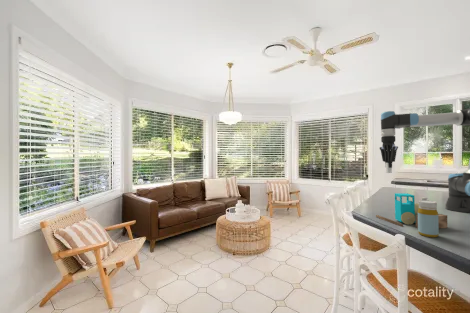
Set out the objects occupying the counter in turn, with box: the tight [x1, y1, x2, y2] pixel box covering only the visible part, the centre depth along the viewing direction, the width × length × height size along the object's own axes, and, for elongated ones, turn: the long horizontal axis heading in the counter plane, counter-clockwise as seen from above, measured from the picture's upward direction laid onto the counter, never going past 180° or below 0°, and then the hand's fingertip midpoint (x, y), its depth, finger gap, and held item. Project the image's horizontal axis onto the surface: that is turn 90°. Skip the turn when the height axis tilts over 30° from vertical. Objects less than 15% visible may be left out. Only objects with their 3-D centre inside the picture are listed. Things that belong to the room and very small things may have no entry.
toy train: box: [394, 192, 428, 225], centre depth 121 cm, size 8×17×15 cm, turn 78°
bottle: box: [417, 199, 440, 238], centre depth 103 cm, size 7×7×15 cm
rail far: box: [375, 214, 404, 227], centre depth 125 cm, size 1×18×1 cm, turn 5°
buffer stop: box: [415, 213, 448, 229], centre depth 114 cm, size 14×5×6 cm, turn 96°
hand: (388, 172), depth 147 cm, fingers closed
